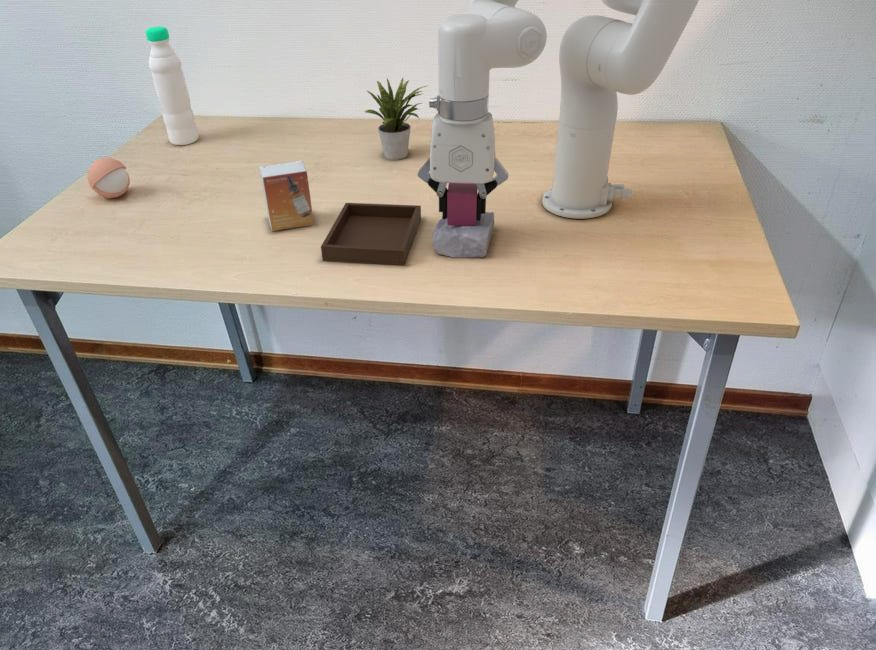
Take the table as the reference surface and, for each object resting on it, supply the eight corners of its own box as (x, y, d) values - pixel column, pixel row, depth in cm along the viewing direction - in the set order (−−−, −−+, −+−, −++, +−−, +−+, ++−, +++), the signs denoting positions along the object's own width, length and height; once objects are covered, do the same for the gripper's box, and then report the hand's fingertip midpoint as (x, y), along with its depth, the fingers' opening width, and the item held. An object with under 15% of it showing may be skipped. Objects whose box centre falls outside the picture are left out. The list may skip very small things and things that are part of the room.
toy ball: (111, 207, 133) (97, 169, 128) (87, 199, 136) (73, 162, 131) (142, 192, 138) (131, 155, 133) (118, 185, 141) (106, 148, 136)
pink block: (477, 212, 114) (477, 181, 110) (476, 225, 110) (476, 194, 107) (449, 212, 115) (449, 181, 111) (447, 225, 111) (447, 194, 107)
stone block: (432, 265, 112) (491, 258, 109) (426, 239, 109) (486, 232, 106) (444, 234, 121) (498, 227, 118) (438, 210, 119) (493, 202, 115)
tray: (421, 219, 122) (420, 205, 120) (404, 265, 109) (403, 250, 107) (347, 216, 124) (345, 202, 122) (322, 261, 112) (320, 246, 110)
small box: (271, 232, 121) (261, 177, 114) (268, 219, 125) (257, 165, 118) (314, 225, 122) (307, 170, 115) (310, 212, 126) (302, 159, 120)
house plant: (424, 171, 139) (422, 90, 129) (360, 170, 141) (352, 91, 131) (432, 145, 150) (431, 69, 139) (372, 145, 152) (367, 70, 142)
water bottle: (169, 138, 162) (139, 26, 147) (198, 133, 164) (171, 22, 148) (170, 148, 157) (138, 33, 141) (200, 143, 158) (172, 29, 143)
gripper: (403, 114, 99) (408, 224, 110) (519, 116, 96) (511, 229, 107) (412, 98, 105) (416, 204, 116) (521, 99, 102) (514, 208, 113)
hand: (462, 215), depth 112 cm, fingers closed on pink block, 5 cm apart
